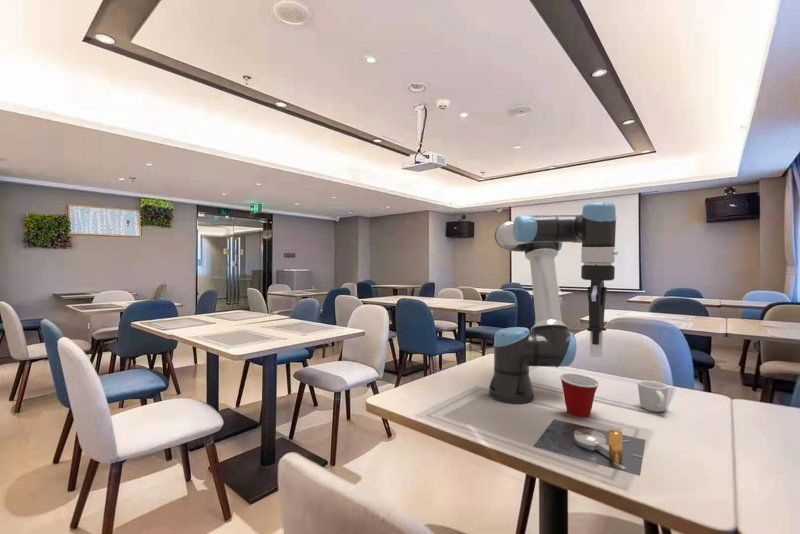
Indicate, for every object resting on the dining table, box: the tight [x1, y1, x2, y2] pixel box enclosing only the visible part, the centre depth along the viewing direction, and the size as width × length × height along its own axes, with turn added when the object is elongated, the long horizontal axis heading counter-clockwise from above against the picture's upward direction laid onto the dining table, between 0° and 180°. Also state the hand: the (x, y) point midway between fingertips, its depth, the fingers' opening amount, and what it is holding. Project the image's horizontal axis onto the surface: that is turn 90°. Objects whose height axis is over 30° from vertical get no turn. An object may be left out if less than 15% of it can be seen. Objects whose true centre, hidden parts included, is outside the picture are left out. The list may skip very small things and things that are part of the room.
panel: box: [533, 419, 646, 476], centre depth 94 cm, size 22×20×2 cm
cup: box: [637, 379, 669, 413], centre depth 119 cm, size 11×8×8 cm
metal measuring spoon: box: [574, 429, 623, 463], centre depth 91 cm, size 13×7×6 cm, turn 14°
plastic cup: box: [559, 372, 601, 418], centre depth 113 cm, size 11×11×12 cm
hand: (596, 356), depth 98 cm, fingers closed
